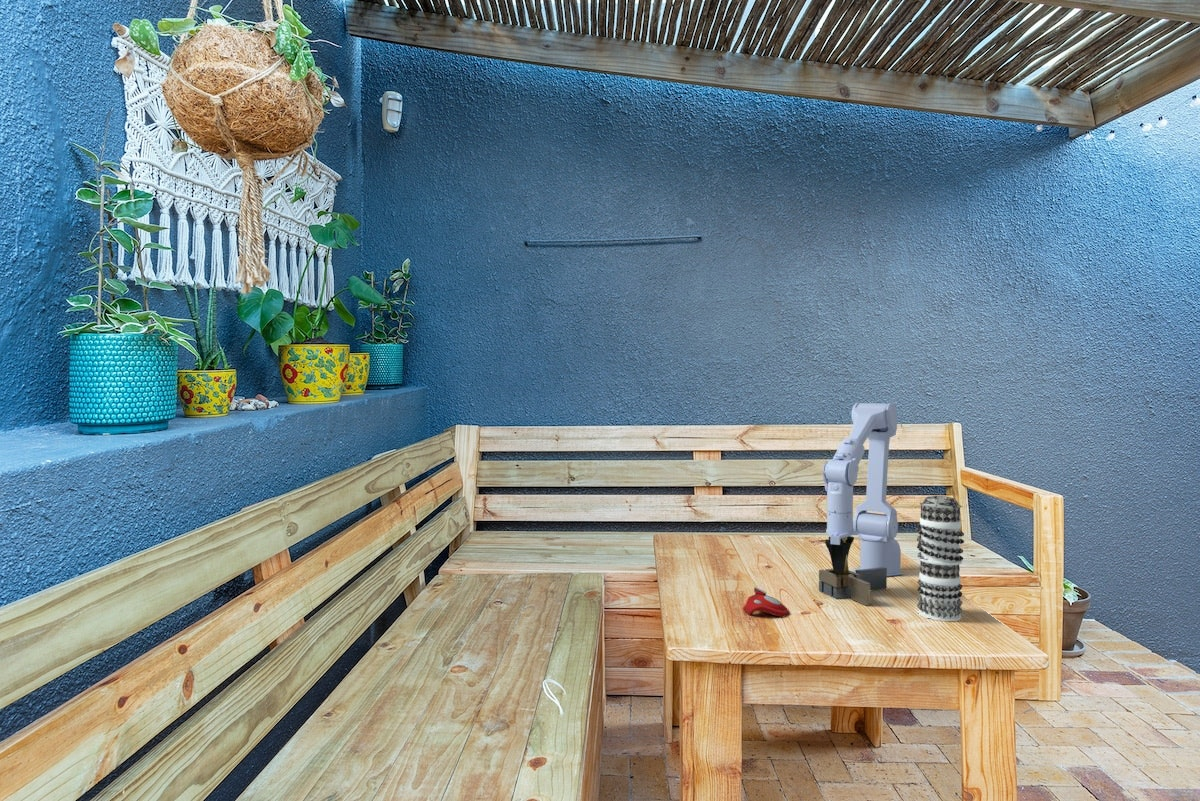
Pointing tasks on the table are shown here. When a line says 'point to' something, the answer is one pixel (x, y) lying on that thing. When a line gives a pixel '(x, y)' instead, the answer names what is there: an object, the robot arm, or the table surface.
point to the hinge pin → (846, 569)
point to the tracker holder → (764, 604)
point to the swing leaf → (848, 584)
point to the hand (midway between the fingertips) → (839, 569)
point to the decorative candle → (939, 559)
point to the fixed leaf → (872, 576)
